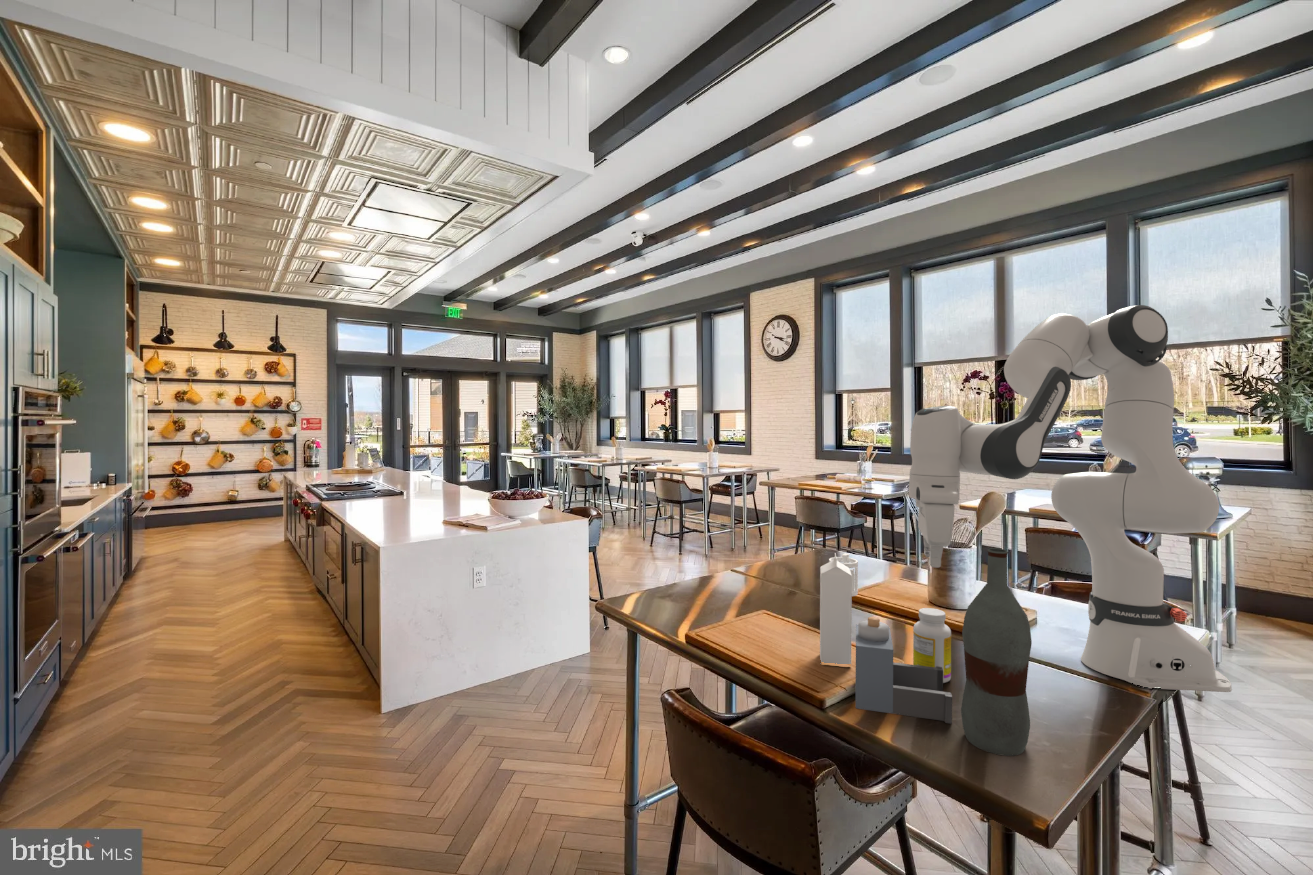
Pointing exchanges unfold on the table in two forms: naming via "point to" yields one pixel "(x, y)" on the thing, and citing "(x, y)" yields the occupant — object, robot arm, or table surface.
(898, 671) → the grey bottle caddy
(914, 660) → the supplement bottle
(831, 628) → the milk
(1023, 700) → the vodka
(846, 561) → the white container
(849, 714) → the table surface
